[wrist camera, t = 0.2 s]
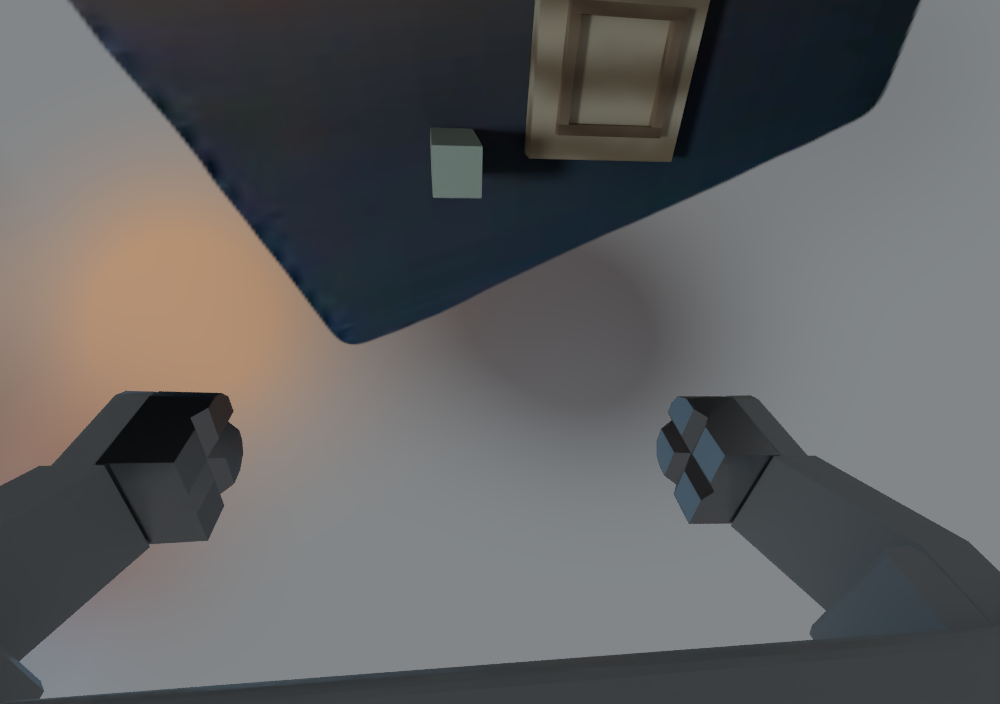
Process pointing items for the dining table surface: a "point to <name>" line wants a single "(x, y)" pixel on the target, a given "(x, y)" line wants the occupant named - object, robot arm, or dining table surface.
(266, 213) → the dining table surface
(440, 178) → the sage block
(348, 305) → the dining table surface
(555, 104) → the plinth
